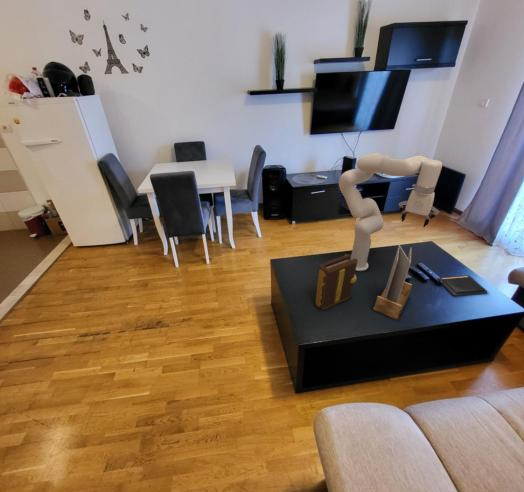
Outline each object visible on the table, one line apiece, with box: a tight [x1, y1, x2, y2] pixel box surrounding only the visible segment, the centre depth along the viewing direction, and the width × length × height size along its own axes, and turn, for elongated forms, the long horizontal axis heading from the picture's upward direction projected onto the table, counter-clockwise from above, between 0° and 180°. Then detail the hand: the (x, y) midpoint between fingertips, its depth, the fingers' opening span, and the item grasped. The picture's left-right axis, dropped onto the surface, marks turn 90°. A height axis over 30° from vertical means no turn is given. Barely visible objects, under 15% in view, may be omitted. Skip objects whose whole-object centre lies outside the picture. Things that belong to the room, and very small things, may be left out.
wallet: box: [436, 275, 488, 297], centre depth 155 cm, size 20×2×15 cm
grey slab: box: [384, 244, 412, 303], centre depth 136 cm, size 14×6×30 cm, turn 155°
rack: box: [372, 281, 413, 321], centre depth 143 cm, size 12×20×9 cm, turn 142°
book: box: [314, 253, 358, 311], centre depth 141 cm, size 22×8×25 cm, turn 117°
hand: (413, 223), depth 133 cm, fingers open, 9 cm apart
